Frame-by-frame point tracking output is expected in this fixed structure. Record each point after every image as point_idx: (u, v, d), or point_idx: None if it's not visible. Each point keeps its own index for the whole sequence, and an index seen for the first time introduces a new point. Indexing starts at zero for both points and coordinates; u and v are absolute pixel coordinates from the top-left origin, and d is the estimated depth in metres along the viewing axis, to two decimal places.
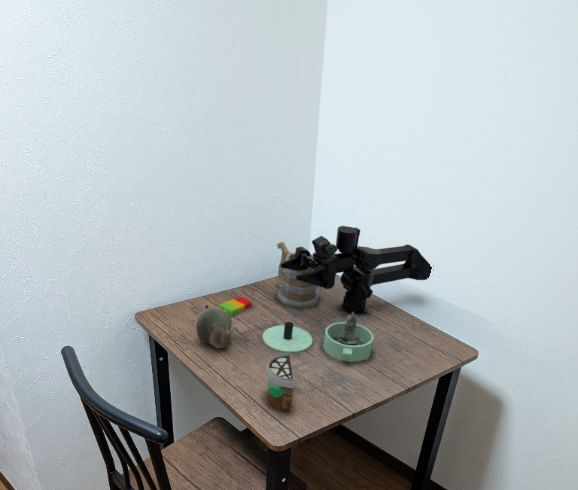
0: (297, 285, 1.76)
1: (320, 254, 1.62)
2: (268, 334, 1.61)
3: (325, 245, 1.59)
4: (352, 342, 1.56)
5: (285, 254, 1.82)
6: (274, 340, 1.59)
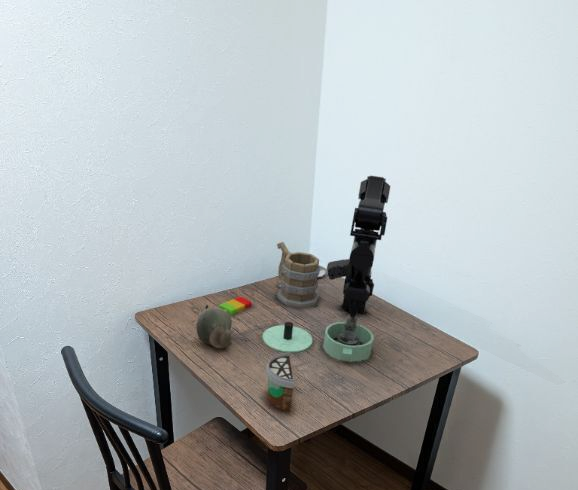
0: (297, 285, 1.76)
1: None
2: (268, 334, 1.61)
3: None
4: (352, 342, 1.56)
5: (285, 254, 1.82)
6: (274, 340, 1.59)
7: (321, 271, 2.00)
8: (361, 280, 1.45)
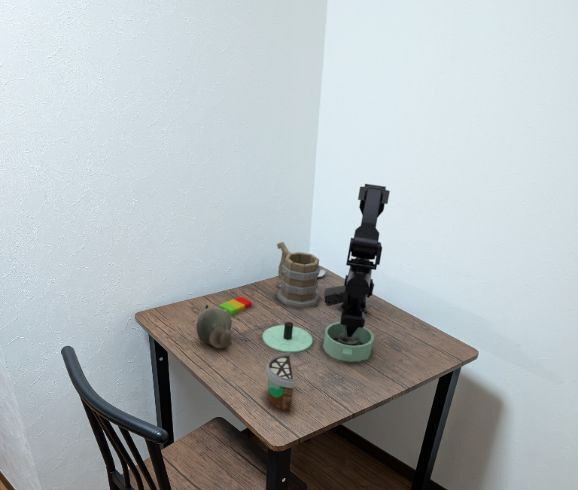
0: (297, 285, 1.76)
1: None
2: (268, 334, 1.61)
3: None
4: (352, 342, 1.56)
5: (285, 254, 1.82)
6: (274, 340, 1.59)
7: (321, 271, 2.00)
8: (357, 307, 1.49)
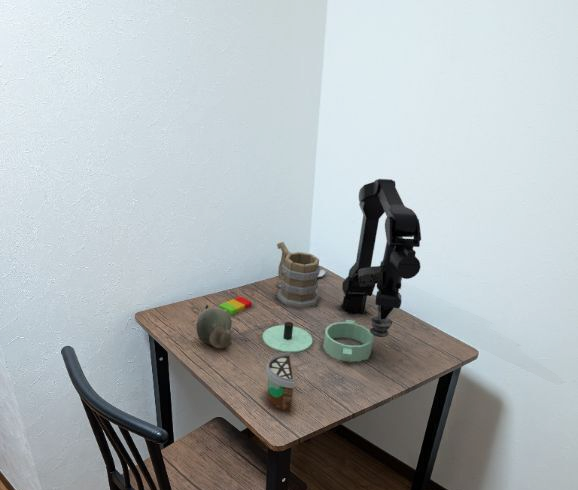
0: (297, 285, 1.76)
1: None
2: (268, 334, 1.61)
3: None
4: (385, 324, 1.51)
5: (285, 254, 1.82)
6: (274, 340, 1.59)
7: (321, 271, 2.00)
8: (392, 287, 1.45)
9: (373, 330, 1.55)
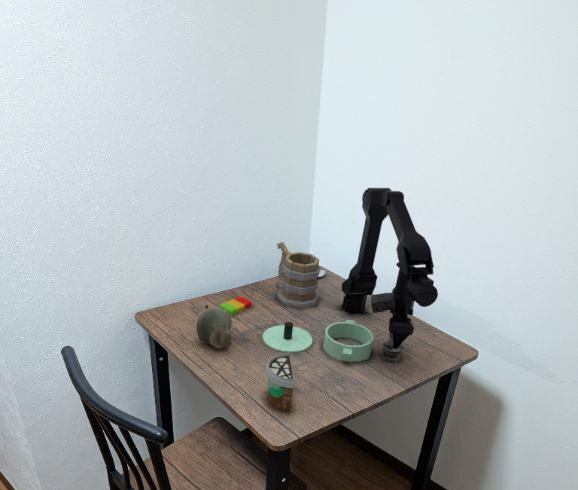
0: (297, 285, 1.76)
1: None
2: (268, 334, 1.61)
3: None
4: (397, 350, 1.55)
5: (285, 254, 1.82)
6: (274, 340, 1.59)
7: (321, 271, 2.00)
8: (404, 314, 1.48)
9: (384, 355, 1.59)
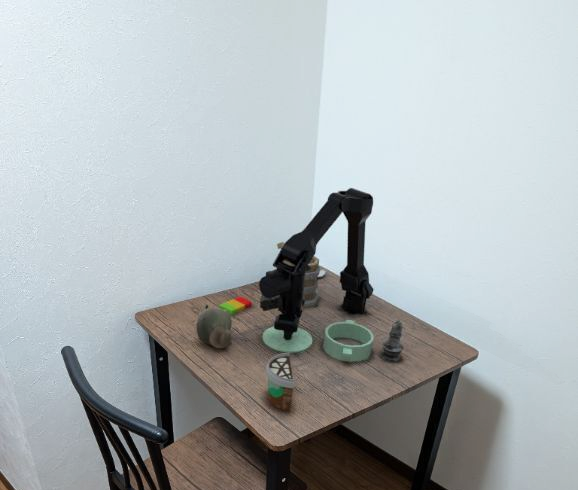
0: None
1: None
2: (268, 334, 1.61)
3: None
4: (397, 350, 1.55)
5: None
6: (274, 340, 1.59)
7: (321, 271, 2.00)
8: (292, 312, 1.53)
9: (384, 355, 1.59)
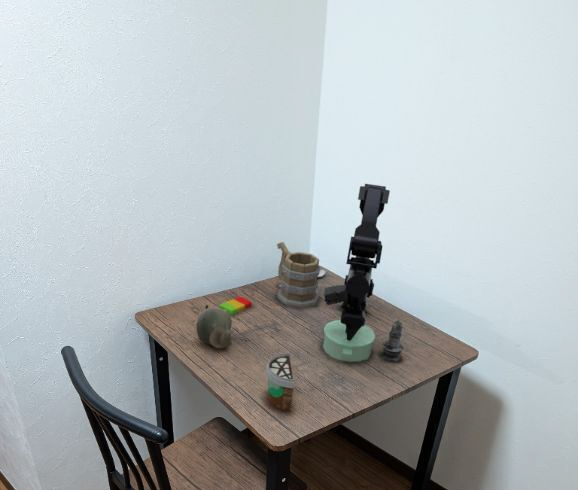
0: (297, 285, 1.76)
1: None
2: (329, 328, 1.57)
3: None
4: (397, 350, 1.55)
5: (285, 254, 1.82)
6: (336, 335, 1.55)
7: (321, 271, 2.00)
8: (357, 306, 1.49)
9: (384, 355, 1.59)
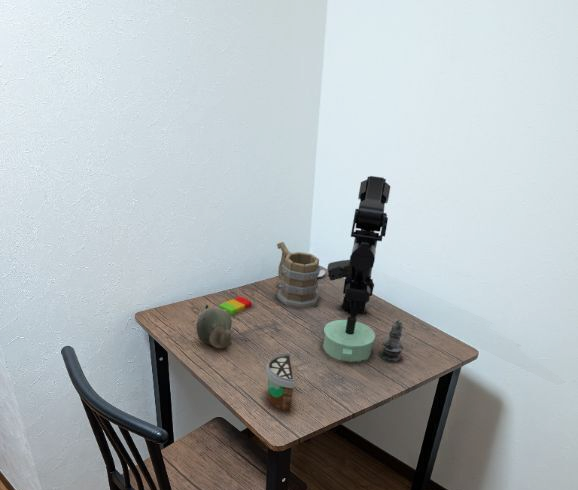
0: (297, 285, 1.76)
1: None
2: (329, 328, 1.57)
3: None
4: (397, 350, 1.55)
5: (285, 254, 1.82)
6: (336, 335, 1.55)
7: (321, 271, 2.00)
8: (362, 281, 1.45)
9: (384, 355, 1.59)
